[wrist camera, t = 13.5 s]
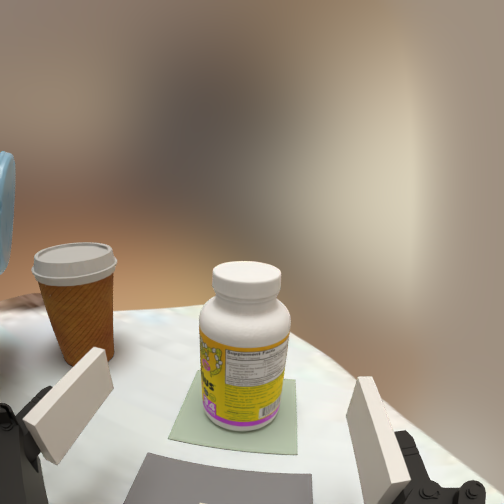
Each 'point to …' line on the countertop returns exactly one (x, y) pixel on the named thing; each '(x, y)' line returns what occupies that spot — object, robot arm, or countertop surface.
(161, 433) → the countertop surface
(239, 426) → the supplement bottle
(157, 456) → the mat
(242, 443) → the mat
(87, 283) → the disposable coffee cup
